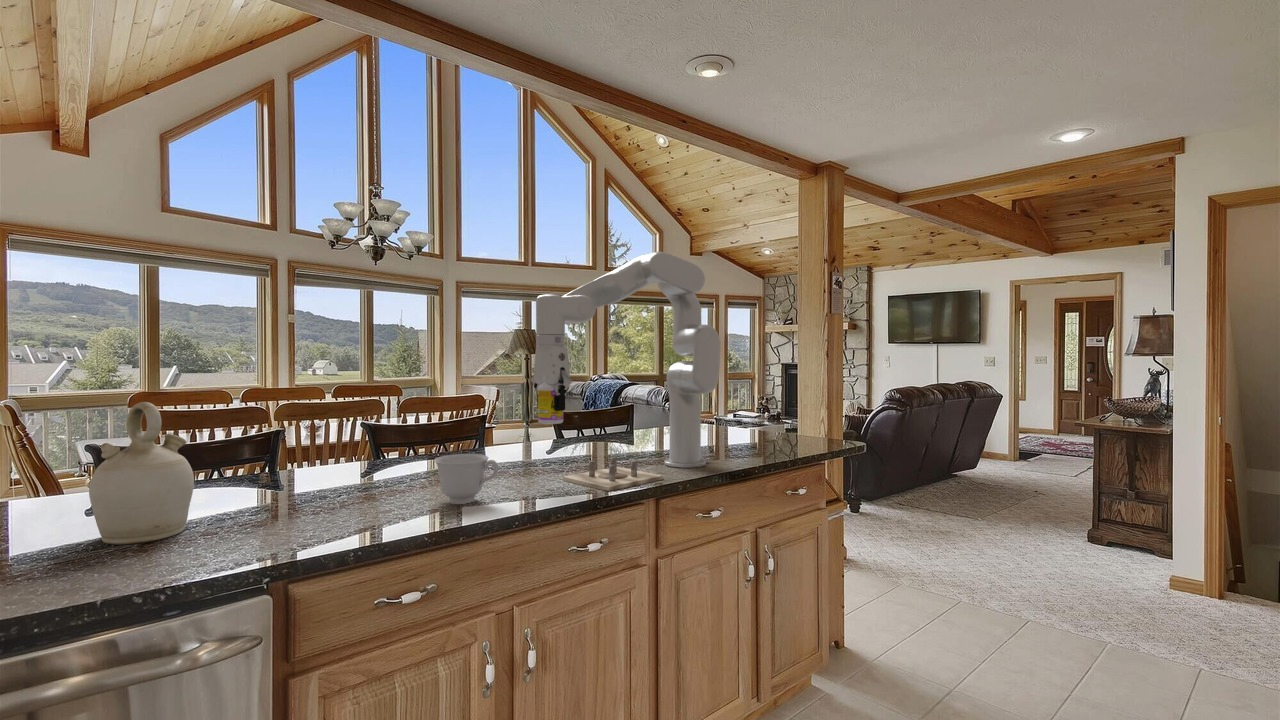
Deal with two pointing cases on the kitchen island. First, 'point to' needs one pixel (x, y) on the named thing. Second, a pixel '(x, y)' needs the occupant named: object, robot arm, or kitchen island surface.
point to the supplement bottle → (547, 405)
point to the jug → (142, 484)
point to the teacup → (463, 475)
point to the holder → (612, 477)
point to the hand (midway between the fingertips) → (551, 409)
